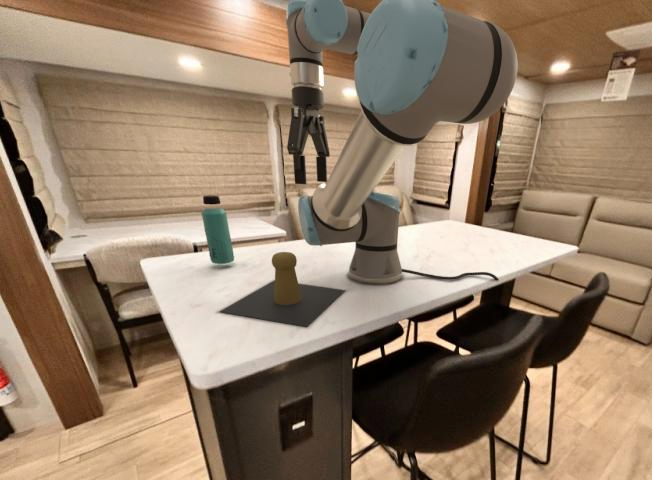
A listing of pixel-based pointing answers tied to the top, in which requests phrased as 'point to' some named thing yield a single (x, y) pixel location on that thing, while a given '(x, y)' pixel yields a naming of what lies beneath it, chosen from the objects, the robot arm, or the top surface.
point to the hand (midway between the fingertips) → (312, 183)
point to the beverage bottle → (217, 232)
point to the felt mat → (295, 314)
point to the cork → (285, 279)
